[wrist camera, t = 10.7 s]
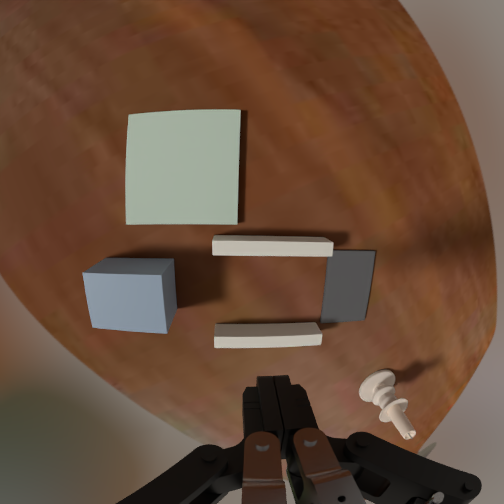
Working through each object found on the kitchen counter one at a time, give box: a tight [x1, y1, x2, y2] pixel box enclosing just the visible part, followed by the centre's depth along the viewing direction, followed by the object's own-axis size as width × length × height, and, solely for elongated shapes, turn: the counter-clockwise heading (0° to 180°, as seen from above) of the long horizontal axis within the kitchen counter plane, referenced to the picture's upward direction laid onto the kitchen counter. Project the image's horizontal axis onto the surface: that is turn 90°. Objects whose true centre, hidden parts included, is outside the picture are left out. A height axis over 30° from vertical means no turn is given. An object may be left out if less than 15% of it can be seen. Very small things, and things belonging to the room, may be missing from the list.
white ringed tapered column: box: [359, 370, 416, 439], centre depth 25 cm, size 5×5×10 cm
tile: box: [126, 110, 241, 224], centre depth 23 cm, size 10×10×1 cm
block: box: [83, 258, 177, 334], centre depth 23 cm, size 7×5×5 cm
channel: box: [212, 235, 375, 348], centre depth 25 cm, size 16×10×2 cm, turn 88°
